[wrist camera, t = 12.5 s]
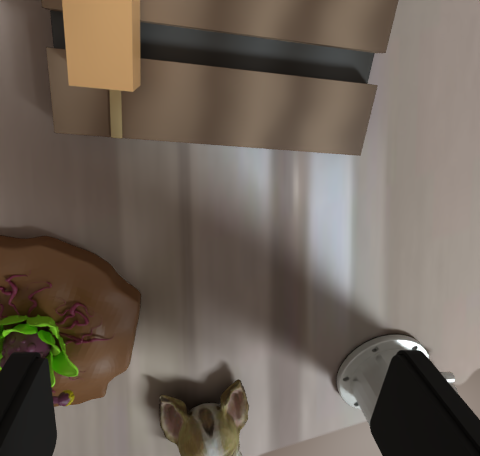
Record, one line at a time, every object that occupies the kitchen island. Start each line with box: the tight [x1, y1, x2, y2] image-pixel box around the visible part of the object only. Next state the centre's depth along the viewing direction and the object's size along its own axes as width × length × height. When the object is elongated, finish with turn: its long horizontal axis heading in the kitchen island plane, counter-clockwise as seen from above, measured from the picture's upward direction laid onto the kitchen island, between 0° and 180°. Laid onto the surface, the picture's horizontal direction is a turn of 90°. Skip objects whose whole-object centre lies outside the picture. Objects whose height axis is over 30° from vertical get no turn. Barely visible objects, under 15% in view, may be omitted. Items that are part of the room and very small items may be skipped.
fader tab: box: [62, 0, 140, 92], centre depth 24 cm, size 4×6×7 cm, turn 173°
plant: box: [0, 235, 141, 407], centre depth 33 cm, size 20×20×11 cm
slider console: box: [41, 0, 398, 156], centre depth 28 cm, size 25×14×3 cm, turn 84°
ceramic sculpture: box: [159, 380, 249, 456], centre depth 44 cm, size 11×9×15 cm
